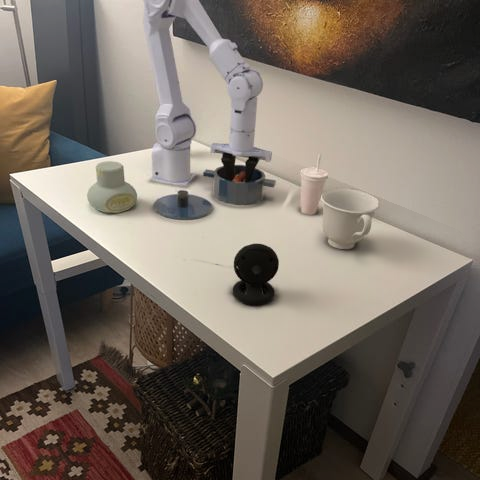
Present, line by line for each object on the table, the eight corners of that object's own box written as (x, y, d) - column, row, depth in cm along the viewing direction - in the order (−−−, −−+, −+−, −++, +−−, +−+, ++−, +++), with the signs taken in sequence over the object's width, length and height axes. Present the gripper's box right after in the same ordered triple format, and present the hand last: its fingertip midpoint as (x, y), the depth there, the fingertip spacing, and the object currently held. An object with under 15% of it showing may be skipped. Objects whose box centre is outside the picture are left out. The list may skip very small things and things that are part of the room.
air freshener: (98, 220, 109) (93, 175, 103) (83, 206, 114) (77, 163, 108) (143, 210, 115) (141, 167, 109) (127, 197, 120) (124, 156, 114)
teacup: (332, 266, 99) (342, 220, 94) (305, 232, 111) (311, 189, 105) (386, 261, 103) (398, 216, 97) (354, 228, 114) (363, 186, 108)
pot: (267, 212, 118) (270, 188, 114) (196, 200, 121) (196, 176, 117) (277, 193, 128) (280, 170, 124) (211, 182, 131) (212, 160, 127)
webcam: (272, 283, 93) (278, 235, 87) (276, 307, 87) (283, 256, 81) (231, 282, 92) (234, 233, 86) (232, 305, 86) (235, 254, 80)
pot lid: (201, 226, 110) (201, 208, 107) (144, 216, 112) (143, 198, 110) (218, 203, 120) (219, 186, 118) (166, 194, 123) (166, 177, 120)
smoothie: (323, 217, 118) (333, 158, 109) (296, 216, 118) (304, 156, 109) (320, 206, 123) (329, 149, 115) (294, 204, 123) (302, 147, 114)
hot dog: (240, 198, 120) (242, 182, 118) (227, 196, 121) (228, 180, 118) (249, 186, 127) (250, 171, 124) (236, 184, 127) (237, 169, 125)
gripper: (207, 129, 113) (205, 186, 121) (269, 138, 110) (263, 196, 118) (216, 121, 118) (214, 177, 126) (275, 129, 116) (270, 186, 124)
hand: (238, 185), depth 123 cm, fingers closed on hot dog, 3 cm apart
